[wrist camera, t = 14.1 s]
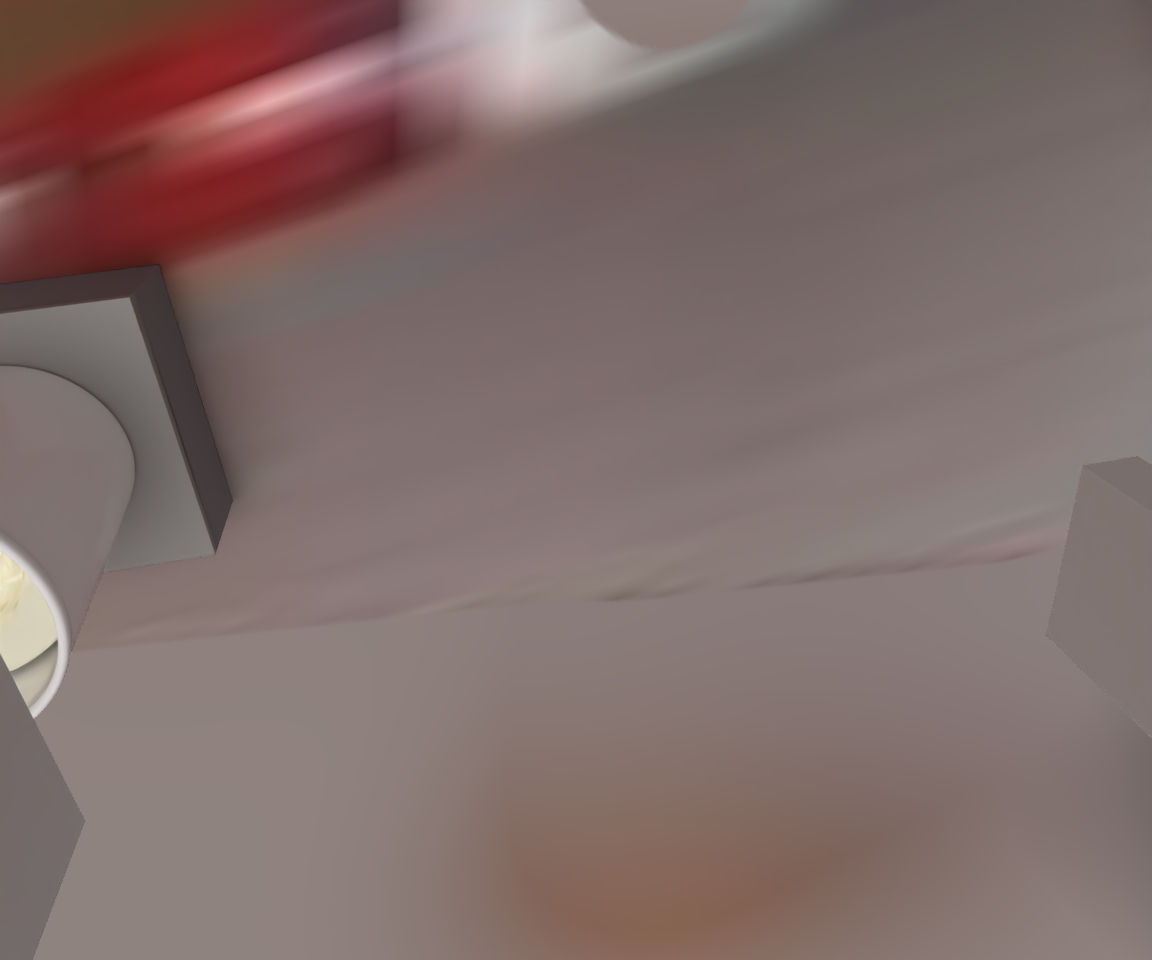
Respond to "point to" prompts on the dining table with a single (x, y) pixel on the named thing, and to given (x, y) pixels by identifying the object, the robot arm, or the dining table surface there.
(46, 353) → the block
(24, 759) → the robot arm
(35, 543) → the candle holder
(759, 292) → the dining table surface
